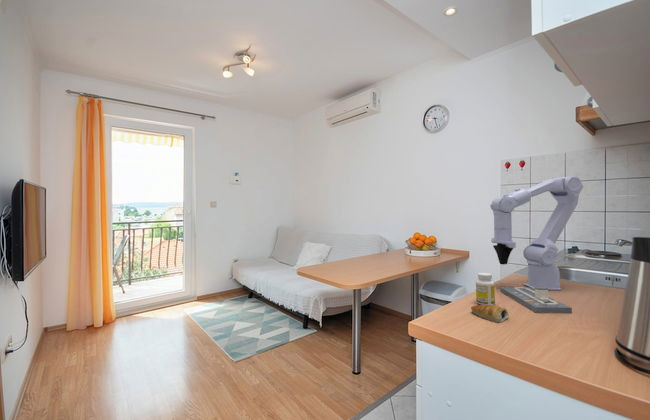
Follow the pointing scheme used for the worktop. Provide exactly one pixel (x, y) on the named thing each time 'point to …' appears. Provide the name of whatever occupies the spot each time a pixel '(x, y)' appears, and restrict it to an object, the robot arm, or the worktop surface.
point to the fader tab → (541, 293)
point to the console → (535, 300)
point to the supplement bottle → (485, 289)
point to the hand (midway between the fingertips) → (503, 264)
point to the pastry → (490, 312)
